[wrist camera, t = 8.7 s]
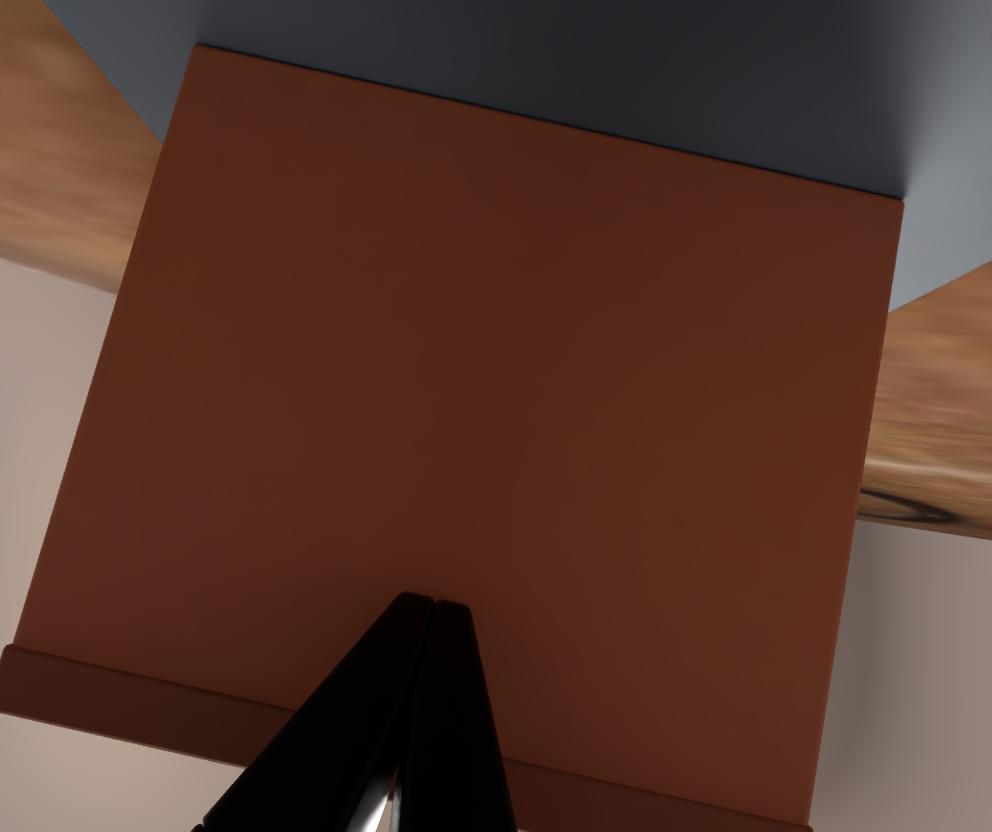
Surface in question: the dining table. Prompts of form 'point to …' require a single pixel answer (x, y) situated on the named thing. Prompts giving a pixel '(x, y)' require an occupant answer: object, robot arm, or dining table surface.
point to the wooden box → (471, 444)
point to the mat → (645, 83)
